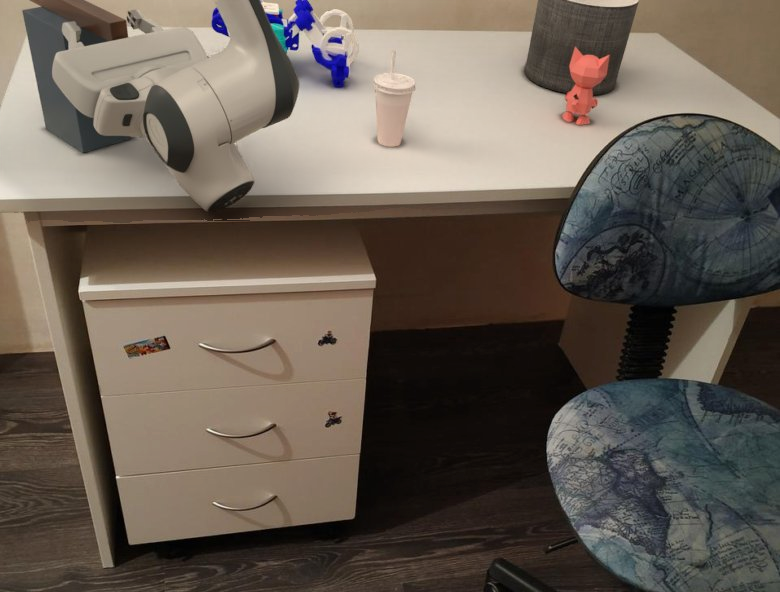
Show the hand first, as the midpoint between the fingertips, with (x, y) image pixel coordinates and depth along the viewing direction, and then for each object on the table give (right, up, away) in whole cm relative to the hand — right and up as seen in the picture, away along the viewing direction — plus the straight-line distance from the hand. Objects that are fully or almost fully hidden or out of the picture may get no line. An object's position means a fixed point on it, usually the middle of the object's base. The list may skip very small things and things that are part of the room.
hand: (100, 19), depth 104 cm
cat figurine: (+70, -1, +37) cm, 79 cm away
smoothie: (+37, -9, +23) cm, 45 cm away
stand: (-7, -10, +16) cm, 20 cm away
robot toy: (+19, +9, +41) cm, 46 cm away
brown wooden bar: (-4, +2, +4) cm, 6 cm away
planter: (+72, +12, +52) cm, 90 cm away
